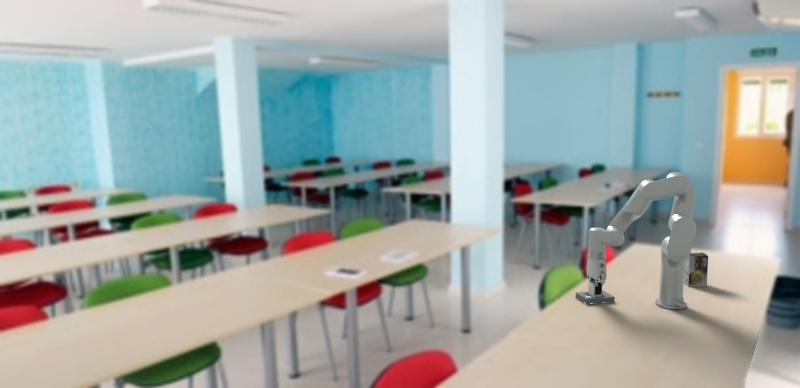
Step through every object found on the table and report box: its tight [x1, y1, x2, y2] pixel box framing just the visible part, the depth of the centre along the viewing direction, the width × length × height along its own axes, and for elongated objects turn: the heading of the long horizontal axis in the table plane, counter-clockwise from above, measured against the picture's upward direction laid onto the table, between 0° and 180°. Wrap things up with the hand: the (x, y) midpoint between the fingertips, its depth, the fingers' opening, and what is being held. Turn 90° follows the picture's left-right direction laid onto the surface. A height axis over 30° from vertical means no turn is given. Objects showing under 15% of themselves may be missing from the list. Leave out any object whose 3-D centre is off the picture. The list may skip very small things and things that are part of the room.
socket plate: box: [575, 289, 616, 305], centre depth 265 cm, size 10×14×3 cm
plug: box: [587, 279, 602, 297], centre depth 264 cm, size 4×4×8 cm
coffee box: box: [684, 252, 709, 288], centre depth 284 cm, size 9×6×16 cm
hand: (595, 292), depth 264 cm, fingers closed on plug, 4 cm apart
